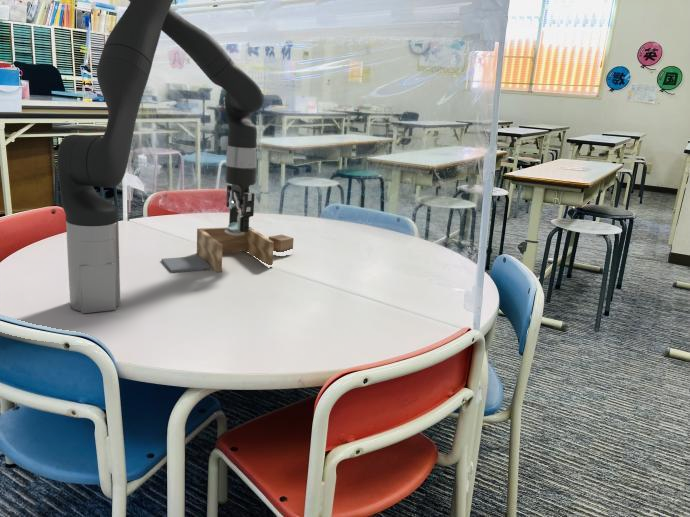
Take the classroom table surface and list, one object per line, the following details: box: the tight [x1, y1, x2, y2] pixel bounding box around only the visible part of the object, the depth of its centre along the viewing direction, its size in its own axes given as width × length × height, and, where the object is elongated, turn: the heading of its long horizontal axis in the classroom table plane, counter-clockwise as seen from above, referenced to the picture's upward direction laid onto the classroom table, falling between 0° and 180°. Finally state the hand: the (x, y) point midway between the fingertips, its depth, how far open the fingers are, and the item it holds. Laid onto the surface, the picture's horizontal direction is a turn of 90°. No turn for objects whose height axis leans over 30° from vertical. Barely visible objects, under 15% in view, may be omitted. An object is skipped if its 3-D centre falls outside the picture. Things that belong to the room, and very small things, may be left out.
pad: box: [161, 255, 213, 274], centre depth 139 cm, size 10×10×1 cm
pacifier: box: [224, 212, 250, 235], centre depth 141 cm, size 7×6×6 cm
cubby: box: [196, 226, 274, 273], centre depth 146 cm, size 17×15×7 cm
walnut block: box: [268, 234, 294, 252], centre depth 157 cm, size 5×5×5 cm
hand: (238, 228), depth 142 cm, fingers closed on pacifier, 7 cm apart
